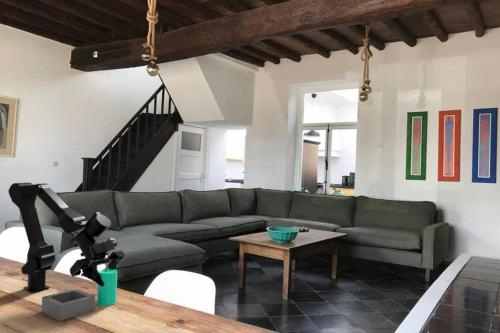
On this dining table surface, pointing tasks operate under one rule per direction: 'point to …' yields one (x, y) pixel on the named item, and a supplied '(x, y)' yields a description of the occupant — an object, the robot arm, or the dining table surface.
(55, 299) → the box
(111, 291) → the candle
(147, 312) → the dining table surface
